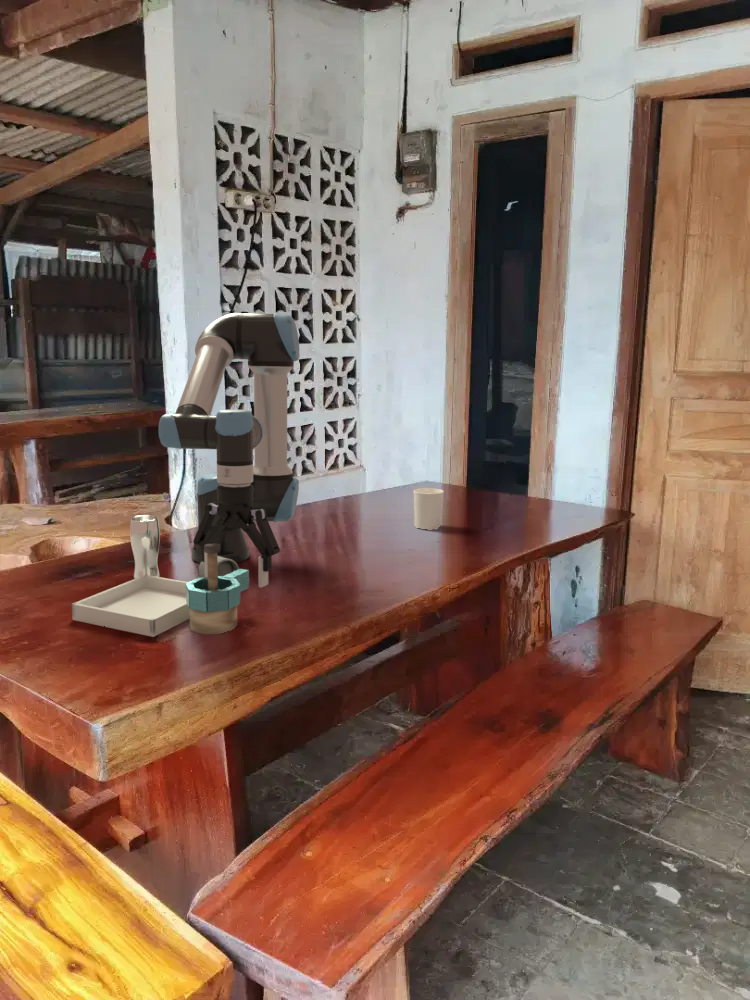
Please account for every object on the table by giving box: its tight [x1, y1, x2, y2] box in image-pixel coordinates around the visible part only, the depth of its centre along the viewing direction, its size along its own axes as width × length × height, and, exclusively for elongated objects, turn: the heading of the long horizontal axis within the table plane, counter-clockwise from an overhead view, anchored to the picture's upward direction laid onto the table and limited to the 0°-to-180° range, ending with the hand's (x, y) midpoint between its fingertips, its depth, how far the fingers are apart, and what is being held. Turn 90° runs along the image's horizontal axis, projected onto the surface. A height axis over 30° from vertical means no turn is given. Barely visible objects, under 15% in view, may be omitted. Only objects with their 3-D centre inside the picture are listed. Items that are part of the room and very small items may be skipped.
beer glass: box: [129, 514, 161, 579], centre depth 189 cm, size 7×7×15 cm
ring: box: [186, 568, 250, 612], centre depth 161 cm, size 17×10×4 cm, turn 156°
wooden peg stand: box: [189, 543, 238, 635], centre depth 158 cm, size 10×10×17 cm
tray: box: [71, 575, 190, 638], centre depth 167 cm, size 23×21×4 cm
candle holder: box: [412, 487, 445, 530], centre depth 247 cm, size 10×10×12 cm
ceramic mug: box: [194, 556, 240, 579], centre depth 183 cm, size 11×8×8 cm
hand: (236, 581), depth 165 cm, fingers open, 13 cm apart
